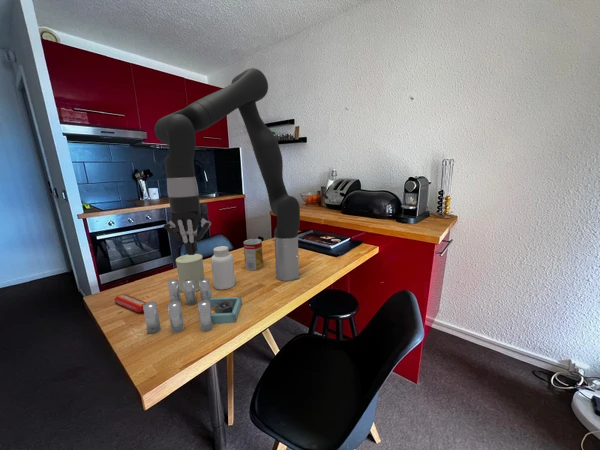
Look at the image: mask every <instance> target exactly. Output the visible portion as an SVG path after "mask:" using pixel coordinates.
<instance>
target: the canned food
mask: <svg viewBox="0 0 600 450" xmlns="http://www.w3.org/2000/svg"><path fill="white" fill-rule="evenodd" d="M243 250H244V251H243V252H244V266H245V267H244V268H245V269H246V270H248V271H259V270H261V269H263V267H264V261H263V259H264V257H263V256H264V255H263V242H262V239H258V238H250V239H246V240H244V241H243Z"/></svg>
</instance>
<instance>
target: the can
mask: <svg viewBox="0 0 600 450" xmlns="http://www.w3.org/2000/svg"><path fill="white" fill-rule="evenodd" d="M175 263H176V264H175V265H176V269H177V275H178V276H177V277H178V280H179V287H180V292H183V293H185V290H184V283H183V281H184V280H186V279H194V284H195V292H197V291H200V286H199V280H200V279H203V278H206V277H205V272H204V271H205V270H204V260H203V255H202V254H200V253H196V254H194V255H188V254H185V255H184V254H183V255H180V256H179V257H177V258H176V259H175Z"/></svg>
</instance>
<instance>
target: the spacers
mask: <svg viewBox="0 0 600 450" xmlns="http://www.w3.org/2000/svg"><path fill="white" fill-rule="evenodd" d="M183 283H184V290H185V292H184V294H185V295H184V296H185V303H186V304H185V305H186V306H193V305H196V304H197V309H198V318H199V324H200V327H199V328H200V331H201V332H204V333H205V332H209V331H211V330H213V328H214V323H212V314H213V313H212V307H211V305H210V300H209V299H210V298H212V291H211V282H210V278H208V277H205V278H203V279H200V280H199V286H200V290H199V293H200V301H197V300H198V299H197V291H195V284H194V279H186V280H184V281H183ZM167 288H168V293H169V300H170V302H169V303H167V310H168V317H169V321H170V322H169V324H170V329H171V332H172V333H173V334H177V333H180V332H182V331H184V330H185V324H184V316H183V309H182V302H183V301H182V294H181V291H180V285H179V278H178V279H177V278H174V279H170V280H168V281H167ZM143 309H144V311H143V314H144V320H145V326H146V330H147V334H149V335H153V334H157V333H159V332H160V331H161V330H162V328H161V321H160V315H159V309H158V304H157V301H156V300H155V301H149V302H147V303H146V304H144V305H143Z"/></svg>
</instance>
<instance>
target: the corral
mask: <svg viewBox="0 0 600 450" xmlns="http://www.w3.org/2000/svg"><path fill="white" fill-rule="evenodd" d="M209 300H210V305H211V308H213V307H214V308H215V306H216V303H218V302H221V301H223V300H229V301H233V305H234V309H233V311H232V313H219V314H215V313H211V314H212V323H213V324H230V323H231V324H232V323H236V322H237V318H238V316H239V313H240V310H241V307H242V296H240V297H239V296H236V297H234V296H233V297H231V296H230V297H211V298H210V299H209Z"/></svg>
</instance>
